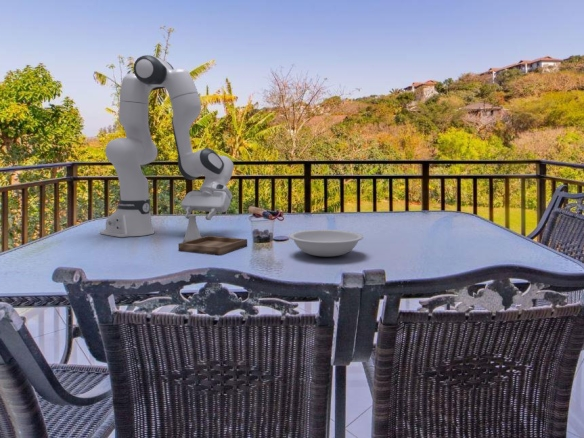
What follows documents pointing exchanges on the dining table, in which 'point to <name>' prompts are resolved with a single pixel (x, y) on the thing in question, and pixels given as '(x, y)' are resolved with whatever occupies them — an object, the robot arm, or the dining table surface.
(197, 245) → the walnut tray
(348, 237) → the soup bowl
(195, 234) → the flask
